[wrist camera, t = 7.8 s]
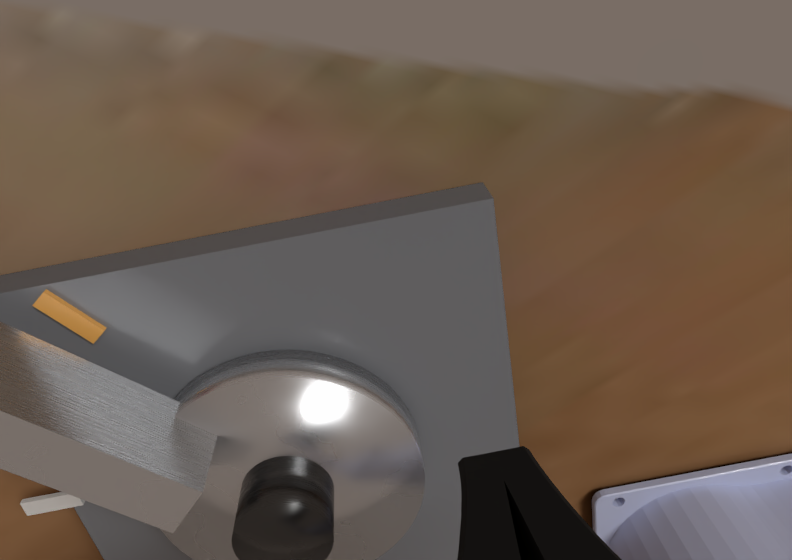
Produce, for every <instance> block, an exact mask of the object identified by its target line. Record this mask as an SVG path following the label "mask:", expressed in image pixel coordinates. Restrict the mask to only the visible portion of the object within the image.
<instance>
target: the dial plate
mask: <svg viewBox="0 0 792 560" xmlns="http://www.w3.org/2000/svg"><path fill="white" fill-rule="evenodd" d="M0 322H3V323H5V324H7V325H9V326H11V327H14V328H16V329H18V330H20V331H23V332H25V333H27V334H29V335H31V336H34V337H36V338H38V339H40V340H43V341H45V342H47V343H49V344H51V345H54V346H56V347H58V348H60V349H63V350H65V351H67V352H69V353H72V354H74V355H76V356H78V357H80V358H83V359H85V360H87V361H89V362H92V363H94V364H96V365H98V366H100V367H103V368H105V369H107V370H109V371H112V372H114V373H116V374H118V375H120V376H123V377H125V378H127V379H129V380H132V381H134V382H136V383H138V384H140V385H143V386H145V387H147V388H149V389H152V390H154V391H156V392H158V393H160V394H163V395H165V396H167V397H169V398H172V399H174V400H175V398H176V397H177V396H178V394H179V393H180V392H181V391H182V390H183V389H184V388H185V387H186V386H187V385H188V384H189V383H190V382H192V381H193V380H194V379H196V378H197V377H199V376H200V375H201V374H203V373H204V372H206V371H208V370H210V369H211V368H213V367H215V366H217V365H219V364H221V363H224V362H226V361H229V360H231V359H234V358H237V357H240V356H244V355H248V354H252V353H256V352H263V351H271V350H304V351H314V352H319V353H324V354H329V355H332V356H336V357H339V358H342V359H345V360H348V361H350V362H352V363H355V364H357V365H359V366H361V367H363V368H365V369H367V370H368V371H370V372H372V373H373V374H375V375H377V376H378V377H379V378H380V379H382V380H383V381H384V382H385V383H387V384H388V385H389V386H390V387H391V388H392V389H393V390H394V391H395V392H396V393H397V394H398V395H399V396H400V398H401V399H402V400H403V402H404V403H405V405H406V406H407V408H408V409H409V411H410V413H411V415H412V417H413V419H414V422H415V425H416V428H417V432H418V436H419V442H420V448H421V453H422V459H423V465H424V474H425V488H424V495H423V499H422V504H421V506H420V509H419V511H418V514H417V516H416V518H415V519H414V521H413V523H412V524H411V526H410V528H409V529H408V530H407V532H406V533H405V534H404V535H403V537H402V538H401V539H400V540H399V541H398V542H397V543H396V544H395V545H394V546H393V547H392V548H390V549H389V550H388V551H387V552H385V553H384V554H383V555H381V556H380V557H378V558H377V559H375V560H457V558H458V550H459V537H460V525H461V500H462V499H461V480H460V474H459V468H458V462H459V461H460V460H461V459H462V458H464V457H469V456H475V455H480V454H485V453H490V452H496V451H501V450H506V449H511V448H517V447H519V438H518V428H517V419H516V409H515V400H514V390H513V381H512V371H511V362H510V352H509V343H508V333H507V324H506V314H505V305H504V295H503V286H502V276H501V267H500V257H499V248H498V238H497V229H496V219H495V210H494V200H493V197H492V196H491V194H490V193H489V191H488V190H487V188H486V187H485V185H484V184H483V182H482V183H477V184H472V185H467V186H462V187H457V188H451V189H446V190H441V191H436V192H431V193H425V194H420V195H415V196H410V197H405V198H400V199H394V200H389V201H384V202H379V203H374V204H368V205H363V206H358V207H353V208H348V209H343V210H337V211H332V212H327V213H322V214H317V215H311V216H306V217H301V218H296V219H291V220H286V221H280V222H275V223H270V224H265V225H260V226H255V227H249V228H244V229H239V230H234V231H229V232H223V233H218V234H213V235H208V236H203V237H198V238H192V239H187V240H182V241H177V242H172V243H166V244H161V245H156V246H151V247H146V248H141V249H135V250H130V251H125V252H120V253H115V254H109V255H104V256H99V257H94V258H89V259H84V260H78V261H73V262H68V263H63V264H58V265H52V266H47V267H42V268H37V269H32V270H27V271H21V272H16V273H11V274H6V275H1V276H0ZM20 505H21V506H22V508H23V510H24V511H25V513H26V514H27V516H29V515H35V514H40V513H45V512H50V511H55V510H61V509H66V508H71V507H74V508H75V510H76V512H77V514H78V515H79V517H80V519H81V521H82V522H83V524H84V526H85V527H86V529H87V531H88V533H89V534H90V536H91V538H92V540H93V541H94V543H95V545H96V547H97V548H98V550H99V552H100V553H101V555H102V557H103V559H104V560H193V559H192V558H190V557H189V556H187V555H186V554H185V553H183V552H182V551H180V550H179V549H178V548H177V547H176V546H175V545H174V544H173V543H172V542H171V541H170V540H169V539H168V538H167V537H166V536H165V534H164V533H163V532H162V531H161V530H160V528H157V527H155V526H152V525H149V524H147V523H144V522H141V521H139V520H136V519H133V518H131V517H128V516H125V515H123V514H120V513H117V512H115V511H112V510H109V509H107V508H104V507H101V506H99V505H96V504H93V503H91V502H88V501H85V500H83V499H80V498H77V497H75V496H72V495H69V494H67V493H64V492H58V493H53V494H48V495H42V496H37V497H32V498H27V499H22V501H21V503H20Z"/></svg>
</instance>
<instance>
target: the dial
mask: <svg viewBox="0 0 792 560" xmlns="http://www.w3.org/2000/svg"><path fill="white" fill-rule="evenodd" d="M0 469H3V470H5V471H8V472H11V473H13V474H16V475H19V476H21V477H24V478H27V479H29V480H32V481H35V482H37V483H40V484H43V485H45V486H48V487H51V488H53V489H56V490H59V491H61V492H64V493H67V494H69V495H72V496H75V497H77V498H80V499H83V500H85V501H88V502H91V503H93V504H96V505H99V506H101V507H104V508H107V509H109V510H112V511H115V512H117V513H120V514H123V515H125V516H128V517H131V518H133V519H136V520H139V521H141V522H144V523H147V524H149V525H152V526H155V527H157V528H160V530H161V531H162V532H163V533H164V534H165V536H166V537H167V538H168V539H169V540H170V541H171V542H172V543H173V544H174V545H175V546H176V547H177V548H178V549H179V550H180V551H182V552H183V553H185V554H186V555H187V556H189V557H190V558H192V559H193V560H375V559H377V558H378V557H380V556H381V555H383V554H384V553H385V552H387V551H388V550H389V549H390V548H392V547H393V546H394V545H395V544H396V543H397V542H398V541H399V540H400V539H401V538H402V537H403V535H404V534H405V533H406V532H407V530H408V529H409V528H410V526H411V524H412V523H413V521H414V519H415V518H416V516H417V514H418V511H419V509H420V506H421V504H422V499H423V495H424V488H425V474H424V465H423V459H422V453H421V448H420V442H419V436H418V432H417V428H416V425H415V422H414V419H413V417H412V415H411V413H410V411H409V409H408V408H407V406H406V405H405V403H404V402H403V400H402V399H401V398H400V396H399V395H398V394H397V393H396V392H395V391H394V390H393V389H392V388H391V387H390V386H389V385H388V384H387V383H385V382H384V381H383V380H382V379H380V378H379V377H378V376H377V375H375V374H373V373H372V372H370V371H368V370H367V369H365V368H363V367H361V366H359V365H357V364H355V363H352V362H350V361H348V360H345V359H342V358H339V357H336V356H332V355H329V354H324V353H319V352H314V351H304V350H271V351H263V352H256V353H252V354H248V355H244V356H240V357H237V358H234V359H231V360H229V361H226V362H224V363H221V364H219V365H217V366H215V367H213V368H211V369H210V370H208V371H206V372H204V373H203V374H201V375H200V376H199V377H197V378H196V379H194V380H193V381H192V382H190V383H189V384H188V385H187V386H186V387H185V388H184V389H183V390H182V391H181V392H180V393H179V394H178V396H177V397H176V398H175V400H174V399H172V398H169V397H167V396H165V395H163V394H160V393H158V392H156V391H154V390H152V389H149V388H147V387H145V386H143V385H140V384H138V383H136V382H134V381H132V380H129V379H127V378H125V377H123V376H120V375H118V374H116V373H114V372H112V371H109V370H107V369H105V368H103V367H100V366H98V365H96V364H94V363H92V362H89V361H87V360H85V359H83V358H80V357H78V356H76V355H74V354H72V353H69V352H67V351H65V350H63V349H60V348H58V347H56V346H54V345H51V344H49V343H47V342H45V341H43V340H40V339H38V338H36V337H34V336H31V335H29V334H27V333H25V332H23V331H20V330H18V329H16V328H14V327H11V326H9V325H7V324H5V323H3V322H0Z"/></svg>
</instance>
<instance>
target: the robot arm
mask: <svg viewBox="0 0 792 560" xmlns="http://www.w3.org/2000/svg"><path fill="white" fill-rule="evenodd" d="M458 468H459V474H460V480H461V499H462V500H461V525H460V537H459V550H458V558H457V560H792V453H791V454H786V455H780V456H775V457H770V458H765V459H759V460H754V461H749V462H744V463H738V464H733V465H728V466H723V467H717V468H712V469H707V470H702V471H696V472H691V473H686V474H681V475H675V476H670V477H665V478H660V479H655V480H649V481H644V482H639V483H634V484H628V485H623V486H618V487H613V488H607V489H602V490H599V491H598V492H596V493H595V494H594V496H593V497H592V521H593V529H592V528H591V527H590V526H589V525H588V524H587V523H586V522H585V521H584V519H583V518H582V517H581V516H580V515H579V514H578V513H577V512H576V510H575V509H574V508H573V507H572V506H571V505H570V504H569V502H568V501H567V500H566V499H565V498H564V496H563V495H562V494H561V493H560V491H559V490H558V489H557V488H556V486H555V485H554V484H553V483H552V481H551V480H550V479H549V477H548V476H547V475H546V474H545V472H544V471H543V469H542V468H541V467H540V465H539V464H538V462H537V461H536V460H535V458H534V457H533V455H532V453H531V452H530V450H529V449H527V448H525V447H524V446H522V447H517V448H511V449H506V450H501V451H496V452H490V453H485V454H480V455H475V456H469V457H464V458H462V459H461V460H460V461H459V462H458ZM616 498H617V499H616Z"/></svg>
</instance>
